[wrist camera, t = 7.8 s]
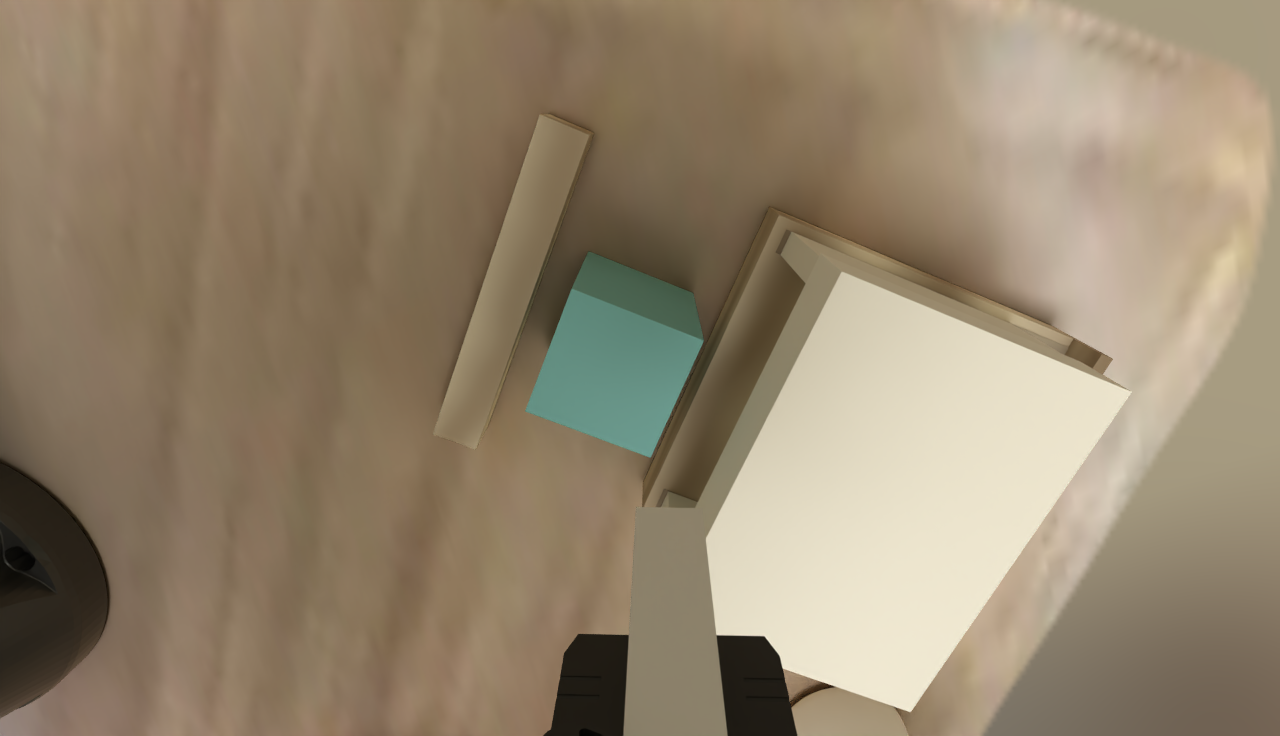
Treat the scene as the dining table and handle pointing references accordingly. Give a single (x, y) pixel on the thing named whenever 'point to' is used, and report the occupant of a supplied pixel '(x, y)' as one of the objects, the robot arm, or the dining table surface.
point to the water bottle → (845, 715)
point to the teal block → (618, 355)
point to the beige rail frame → (729, 351)
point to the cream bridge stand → (887, 475)
